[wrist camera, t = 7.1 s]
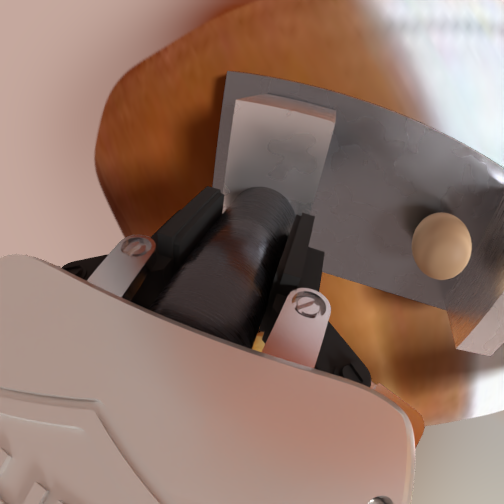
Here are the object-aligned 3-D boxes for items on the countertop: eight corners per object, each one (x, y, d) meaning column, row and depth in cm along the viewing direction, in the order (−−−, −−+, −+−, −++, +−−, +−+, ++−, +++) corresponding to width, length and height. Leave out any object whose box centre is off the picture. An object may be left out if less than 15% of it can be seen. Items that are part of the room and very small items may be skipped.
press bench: (540, 194, 12) (584, 239, 7) (472, 307, 19) (489, 365, 14) (235, 71, 15) (185, 71, 10) (215, 226, 22) (176, 277, 17)
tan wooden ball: (469, 214, 14) (492, 247, 11) (443, 261, 17) (457, 300, 14) (421, 192, 15) (439, 223, 12) (397, 244, 17) (406, 283, 14)
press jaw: (336, 110, 14) (325, 213, 3) (295, 254, 20) (235, 438, 9) (265, 93, 14) (79, 154, 4) (240, 237, 20) (144, 401, 10)
